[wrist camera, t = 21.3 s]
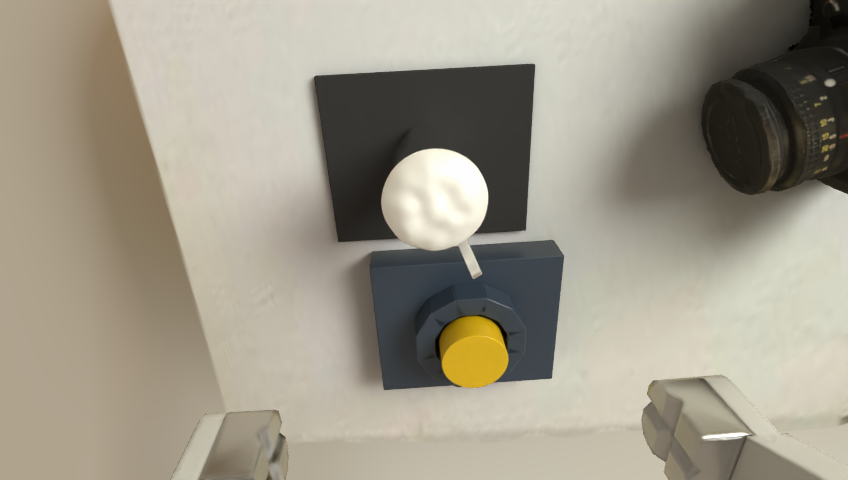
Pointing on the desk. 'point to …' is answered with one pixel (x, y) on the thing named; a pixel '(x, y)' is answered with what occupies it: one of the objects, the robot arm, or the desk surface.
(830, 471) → the robot arm
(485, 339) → the cylinder
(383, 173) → the mat
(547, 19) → the desk surface
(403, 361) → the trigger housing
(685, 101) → the desk surface
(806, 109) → the film camera
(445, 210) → the milkshake
